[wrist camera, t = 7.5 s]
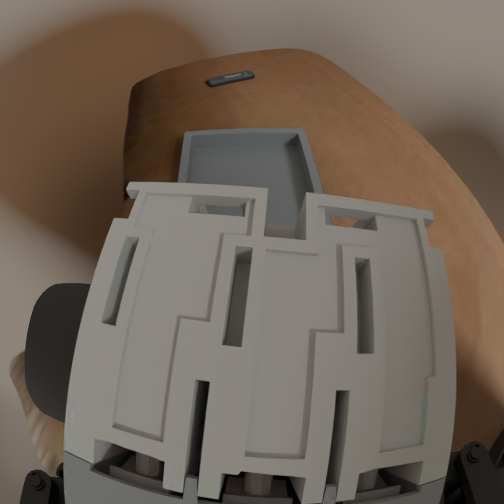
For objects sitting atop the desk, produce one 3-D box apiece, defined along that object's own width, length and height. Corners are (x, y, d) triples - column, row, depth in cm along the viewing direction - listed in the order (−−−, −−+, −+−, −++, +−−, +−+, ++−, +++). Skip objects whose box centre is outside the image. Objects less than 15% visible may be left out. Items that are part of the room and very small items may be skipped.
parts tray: (335, 293, 27) (344, 282, 25) (176, 302, 27) (168, 292, 24) (300, 144, 37) (303, 129, 35) (187, 148, 37) (184, 131, 34)
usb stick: (210, 89, 45) (209, 83, 44) (205, 84, 46) (205, 78, 45) (255, 80, 47) (255, 73, 46) (249, 75, 48) (249, 69, 47)
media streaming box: (155, 296, 27) (146, 285, 24) (149, 437, 20) (138, 442, 18) (49, 288, 27) (35, 279, 24) (36, 406, 20) (20, 405, 17)
